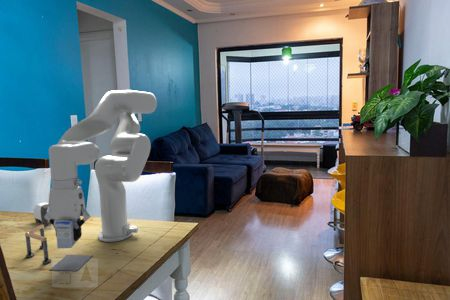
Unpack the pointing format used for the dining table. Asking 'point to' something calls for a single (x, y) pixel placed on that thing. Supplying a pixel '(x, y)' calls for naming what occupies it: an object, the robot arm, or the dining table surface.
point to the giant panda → (41, 213)
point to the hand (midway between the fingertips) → (69, 238)
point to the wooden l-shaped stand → (38, 237)
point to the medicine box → (65, 233)
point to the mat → (71, 263)
